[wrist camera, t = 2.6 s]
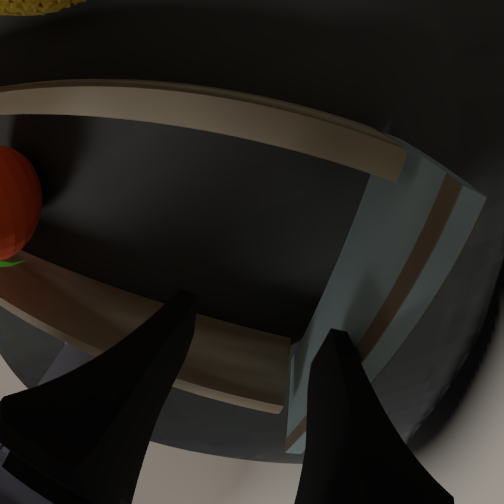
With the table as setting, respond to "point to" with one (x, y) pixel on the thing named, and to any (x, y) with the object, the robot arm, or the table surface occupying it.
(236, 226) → the table surface
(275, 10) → the table surface
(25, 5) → the food
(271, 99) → the crate
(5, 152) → the clementine
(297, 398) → the panel
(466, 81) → the table surface
